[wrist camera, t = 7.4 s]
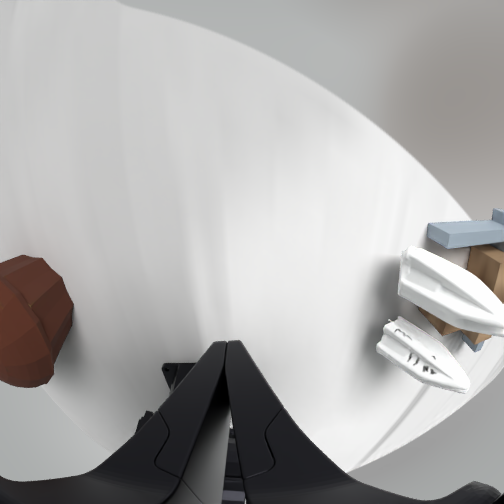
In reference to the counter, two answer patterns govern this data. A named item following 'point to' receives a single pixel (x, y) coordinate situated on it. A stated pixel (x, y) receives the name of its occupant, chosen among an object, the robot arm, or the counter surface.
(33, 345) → the muffin
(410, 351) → the salt and pepper shakers
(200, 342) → the counter surface
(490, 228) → the corner fence
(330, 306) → the counter surface
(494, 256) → the T block
